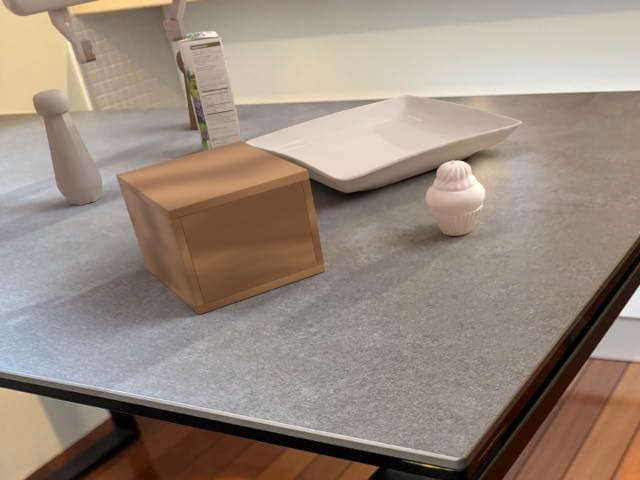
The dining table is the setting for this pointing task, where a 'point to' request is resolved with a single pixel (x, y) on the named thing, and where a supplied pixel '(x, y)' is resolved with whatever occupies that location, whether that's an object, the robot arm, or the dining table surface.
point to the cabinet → (224, 223)
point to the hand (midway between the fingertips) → (133, 51)
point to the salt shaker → (68, 150)
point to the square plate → (386, 141)
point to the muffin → (455, 198)
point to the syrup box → (210, 89)
